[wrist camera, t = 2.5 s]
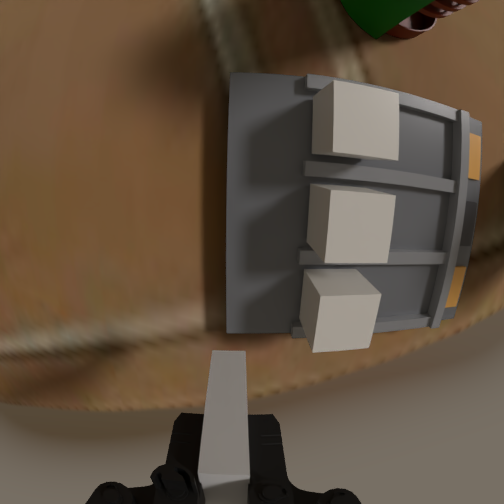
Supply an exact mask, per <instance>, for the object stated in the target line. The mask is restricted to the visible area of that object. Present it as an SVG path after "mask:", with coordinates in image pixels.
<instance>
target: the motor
mask: <svg viewBox="0 0 504 504" xmlns="http://www.w3.org/2000/svg"><path fill="white" fill-rule="evenodd" d="M478 1H479V0H341V3H342V5H343V6H344V8H345V10H346V11H347V13H348V14H349V15H350V17H351V18H352V19H353V20H354V21H355V22H356V23H357V24H358V25H359V26H360V27H361V28H362V29H363V30H364V31H365V32H367V33H368V34H369V35H371V36H372V37H373V38H375V39H377V38H379V37H380V36H382V35H383V34H384V33H386V34H389V35H391V36H394V37H397V38H402V39H410V38H414V37H416V36H418V35H420V34H422V33H424V32H426V31H427V30H429V29H431V28H432V27H433V26H434V25H435V23H436V20H437V18H444V17H446V16H448V15H450V14H452V13H453V12H455V11H458V10H460V9H462V8H464V7H466V5H471V4H473V3H475V2H478Z"/></svg>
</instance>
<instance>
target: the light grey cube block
mask: <svg viewBox="0 0 504 504" xmlns="http://www.w3.org/2000/svg"><path fill="white" fill-rule="evenodd" d="M312 154H319V155H330V156H340V157H349V158H358V159H366V160H396V161H398V156H399V93H395V92H391V91H387V90H383V89H378V88H374V87H369V86H365V85H360V84H354V83H349V82H343V81H337V80H333V81H332V82H330V83H329V84H328V85H327V86H325V87H324V88H323V89H322V90H320V91H319V92H318V93H317V94H316V95H314V96H313V122H312Z"/></svg>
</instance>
